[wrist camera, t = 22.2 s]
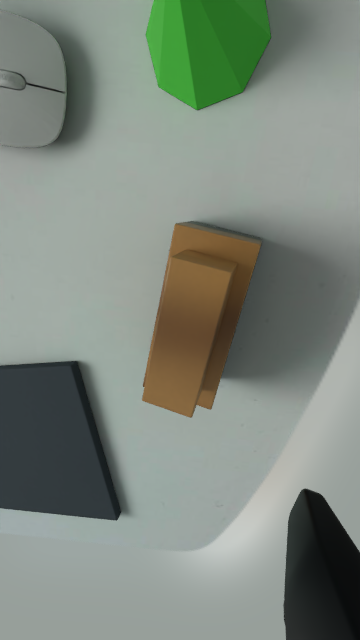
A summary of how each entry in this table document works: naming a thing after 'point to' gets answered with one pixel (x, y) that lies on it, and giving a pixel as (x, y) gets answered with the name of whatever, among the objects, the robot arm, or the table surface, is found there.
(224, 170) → the table surface
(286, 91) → the table surface
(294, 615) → the robot arm
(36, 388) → the mat
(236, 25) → the gemstone
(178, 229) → the brush
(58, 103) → the computer mouse
